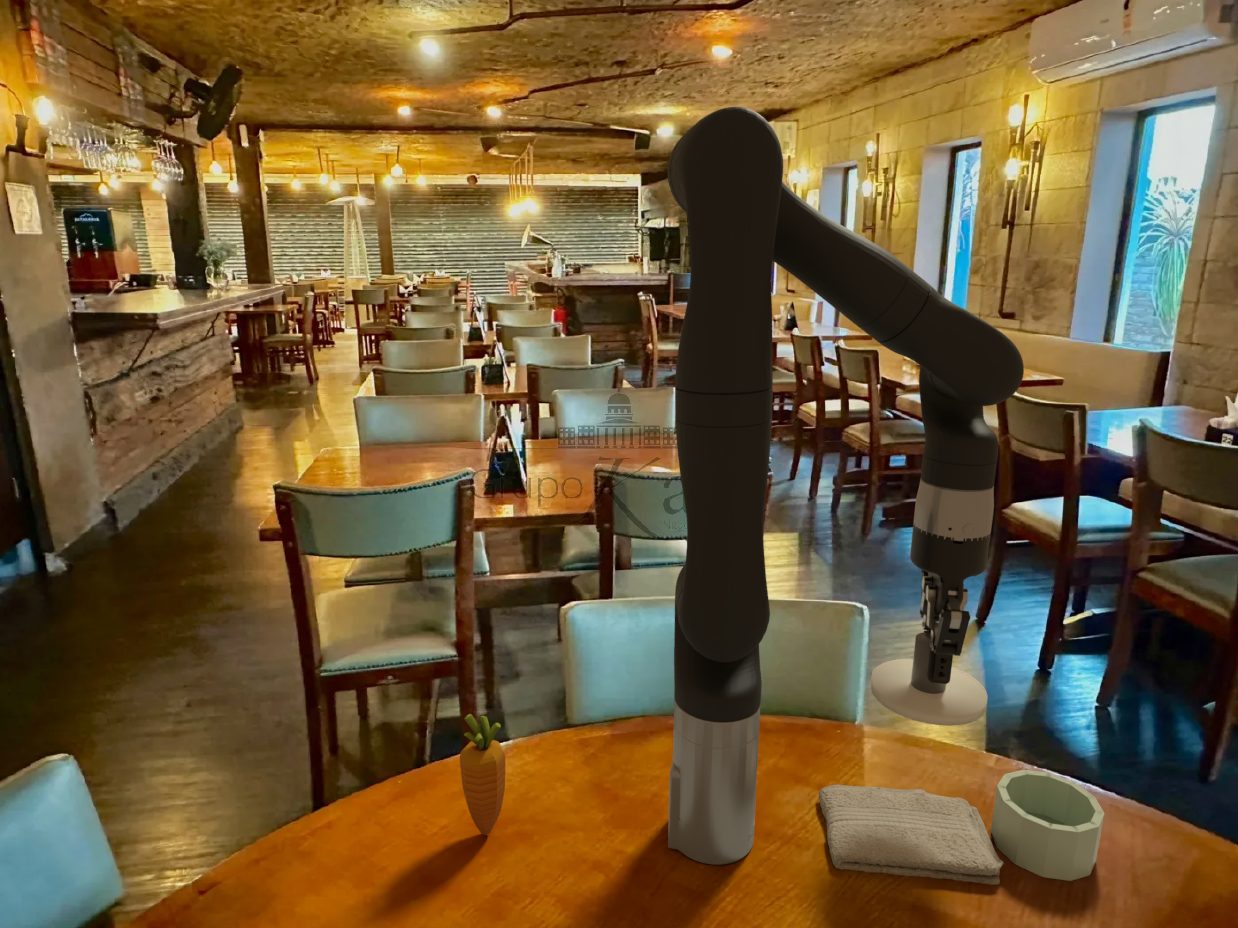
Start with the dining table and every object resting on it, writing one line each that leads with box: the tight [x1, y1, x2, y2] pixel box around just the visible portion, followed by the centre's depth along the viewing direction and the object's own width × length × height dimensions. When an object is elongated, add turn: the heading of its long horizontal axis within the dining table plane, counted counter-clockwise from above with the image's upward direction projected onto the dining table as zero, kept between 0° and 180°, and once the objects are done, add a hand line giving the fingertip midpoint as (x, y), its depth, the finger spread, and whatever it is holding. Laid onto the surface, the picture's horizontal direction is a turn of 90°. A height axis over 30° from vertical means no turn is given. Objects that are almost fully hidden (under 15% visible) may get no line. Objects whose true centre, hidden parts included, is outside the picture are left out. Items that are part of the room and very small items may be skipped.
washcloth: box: [818, 784, 1004, 886], centre depth 89 cm, size 12×18×3 cm, turn 83°
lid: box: [870, 631, 988, 727], centre depth 87 cm, size 12×12×7 cm
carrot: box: [459, 713, 506, 836], centre depth 88 cm, size 5×5×15 cm
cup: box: [990, 769, 1105, 882], centre depth 87 cm, size 10×10×6 cm
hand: (934, 671), depth 87 cm, fingers closed on lid, 3 cm apart
